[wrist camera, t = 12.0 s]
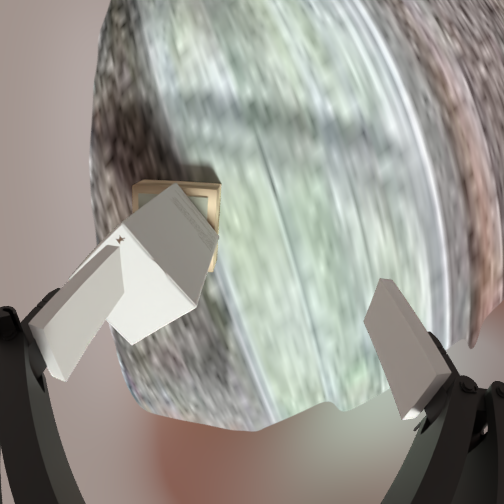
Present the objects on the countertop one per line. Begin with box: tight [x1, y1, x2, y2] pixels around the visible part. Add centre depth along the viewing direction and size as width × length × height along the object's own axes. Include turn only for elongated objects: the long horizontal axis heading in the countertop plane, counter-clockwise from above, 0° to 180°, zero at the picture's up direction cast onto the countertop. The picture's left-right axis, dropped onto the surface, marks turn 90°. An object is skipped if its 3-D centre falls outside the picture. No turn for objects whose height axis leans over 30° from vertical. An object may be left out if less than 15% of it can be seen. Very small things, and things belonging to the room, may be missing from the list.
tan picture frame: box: [132, 180, 221, 272], centre depth 37 cm, size 11×11×4 cm
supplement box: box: [69, 183, 219, 345], centre depth 28 cm, size 9×9×15 cm
